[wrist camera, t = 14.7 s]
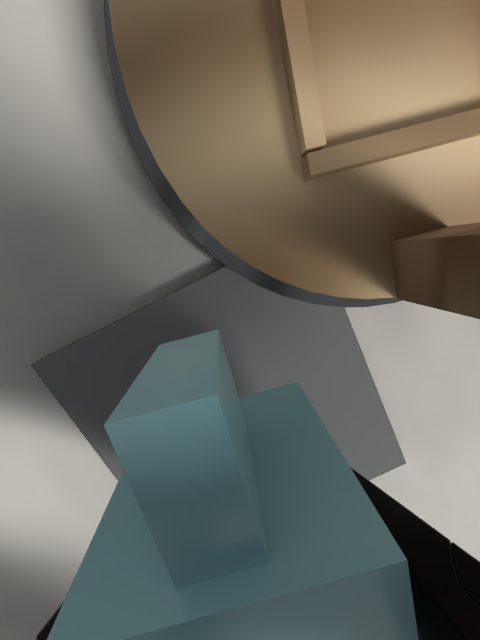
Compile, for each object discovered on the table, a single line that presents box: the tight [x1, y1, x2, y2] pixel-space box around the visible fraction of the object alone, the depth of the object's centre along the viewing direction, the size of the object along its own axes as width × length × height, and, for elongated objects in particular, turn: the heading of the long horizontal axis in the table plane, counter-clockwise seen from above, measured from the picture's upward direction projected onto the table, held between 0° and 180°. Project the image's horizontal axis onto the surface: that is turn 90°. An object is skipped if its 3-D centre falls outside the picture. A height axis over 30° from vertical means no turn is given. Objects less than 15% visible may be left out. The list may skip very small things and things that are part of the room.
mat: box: [31, 266, 406, 481], centre depth 12 cm, size 12×12×1 cm
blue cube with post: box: [47, 329, 418, 640], centre depth 6 cm, size 8×5×5 cm, turn 14°
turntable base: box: [104, 0, 402, 307], centre depth 9 cm, size 17×17×1 cm
